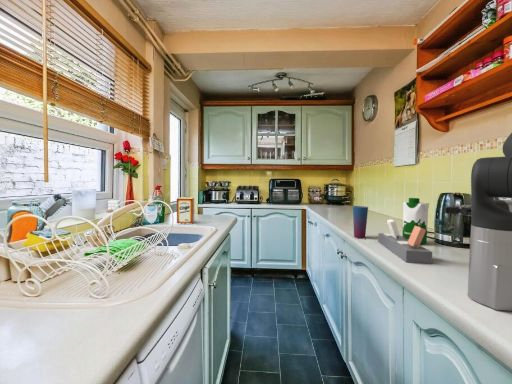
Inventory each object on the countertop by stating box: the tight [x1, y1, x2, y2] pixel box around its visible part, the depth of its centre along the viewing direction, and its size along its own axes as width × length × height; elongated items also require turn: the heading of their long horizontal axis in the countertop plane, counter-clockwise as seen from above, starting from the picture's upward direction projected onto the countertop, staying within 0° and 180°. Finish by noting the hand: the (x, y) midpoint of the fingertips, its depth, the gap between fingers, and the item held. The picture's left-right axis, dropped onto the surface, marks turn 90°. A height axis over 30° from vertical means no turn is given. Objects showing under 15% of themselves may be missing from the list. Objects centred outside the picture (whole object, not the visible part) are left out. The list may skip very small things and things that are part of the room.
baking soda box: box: [176, 196, 195, 224], centre depth 157 cm, size 10×6×16 cm
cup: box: [352, 205, 369, 239], centre depth 121 cm, size 7×7×15 cm
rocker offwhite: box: [386, 219, 401, 239], centre depth 102 cm, size 4×2×7 cm, turn 172°
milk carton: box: [402, 197, 430, 246], centre depth 111 cm, size 9×9×20 cm
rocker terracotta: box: [407, 226, 426, 248], centre depth 88 cm, size 4×2×7 cm, turn 172°
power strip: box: [377, 232, 433, 265], centre depth 101 cm, size 35×8×4 cm, turn 172°
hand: (445, 210), depth 87 cm, fingers closed
